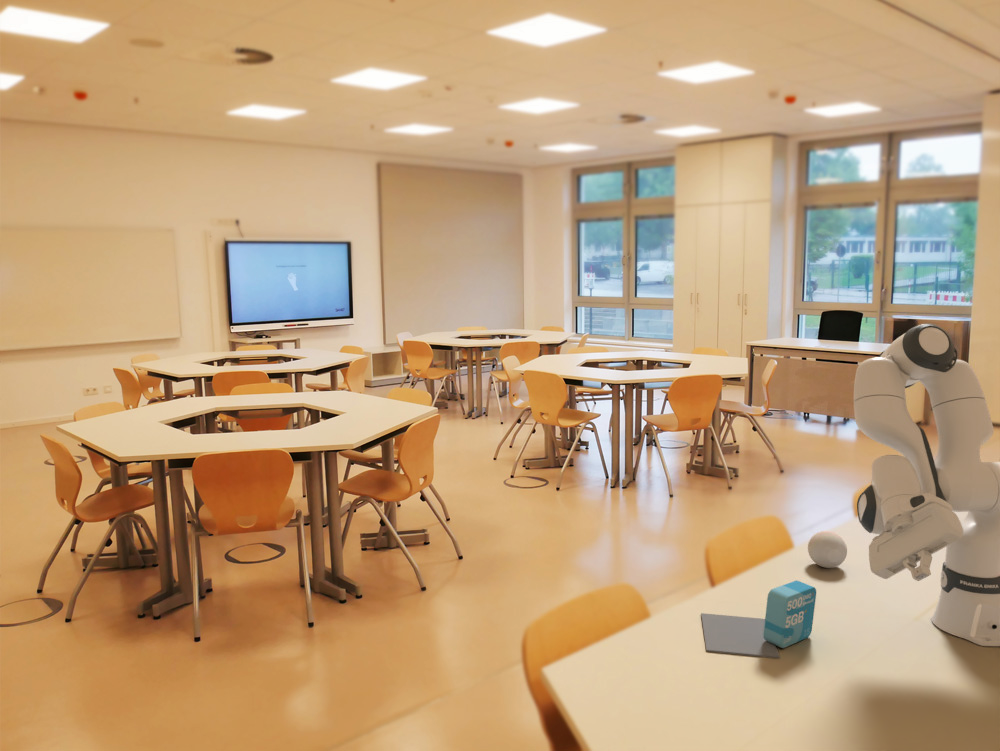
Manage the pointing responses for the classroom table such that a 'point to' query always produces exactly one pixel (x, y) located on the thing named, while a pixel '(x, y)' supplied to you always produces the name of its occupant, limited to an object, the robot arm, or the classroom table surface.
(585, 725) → the classroom table surface
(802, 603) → the data package
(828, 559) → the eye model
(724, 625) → the mat
